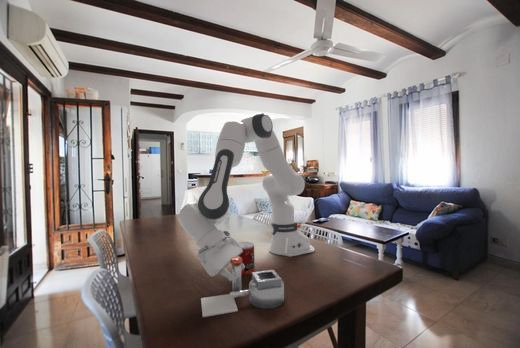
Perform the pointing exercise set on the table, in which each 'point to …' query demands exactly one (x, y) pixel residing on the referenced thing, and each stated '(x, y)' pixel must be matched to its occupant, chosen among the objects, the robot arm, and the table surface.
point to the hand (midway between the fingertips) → (238, 273)
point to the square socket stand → (264, 290)
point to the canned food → (247, 257)
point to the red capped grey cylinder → (236, 273)
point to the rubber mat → (218, 305)
